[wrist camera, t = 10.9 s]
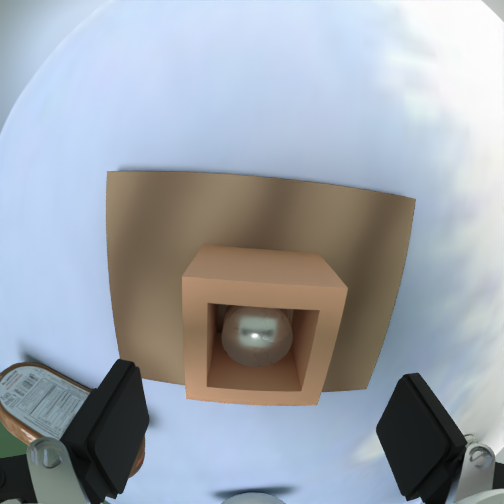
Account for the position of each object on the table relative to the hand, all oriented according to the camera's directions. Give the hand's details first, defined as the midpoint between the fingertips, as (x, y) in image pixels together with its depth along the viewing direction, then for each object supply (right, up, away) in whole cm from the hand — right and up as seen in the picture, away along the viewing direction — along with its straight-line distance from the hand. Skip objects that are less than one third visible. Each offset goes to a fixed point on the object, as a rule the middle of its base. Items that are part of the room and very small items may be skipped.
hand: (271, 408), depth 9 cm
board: (-1, +3, +9) cm, 9 cm away
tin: (-16, -7, +12) cm, 22 cm away
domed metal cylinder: (0, +2, +7) cm, 8 cm away
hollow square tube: (0, +2, +8) cm, 8 cm away
